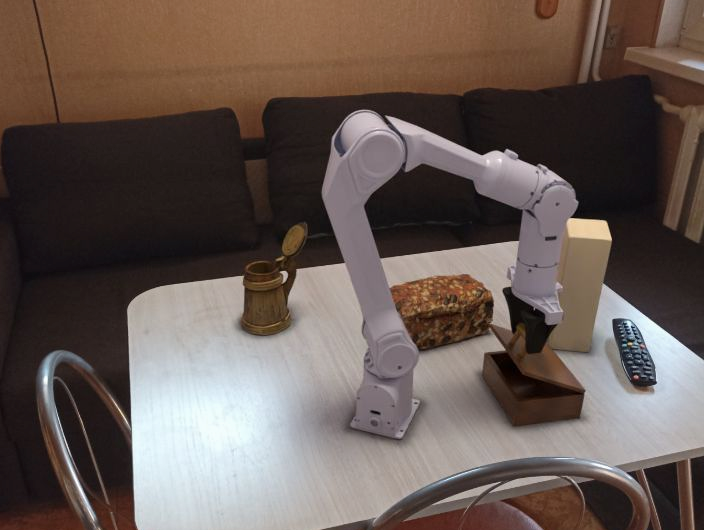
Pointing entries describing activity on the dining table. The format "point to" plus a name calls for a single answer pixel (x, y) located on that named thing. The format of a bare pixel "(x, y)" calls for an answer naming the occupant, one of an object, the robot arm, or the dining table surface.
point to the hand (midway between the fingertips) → (526, 342)
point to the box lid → (536, 359)
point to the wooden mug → (271, 287)
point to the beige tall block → (580, 282)
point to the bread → (443, 309)
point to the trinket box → (528, 393)
